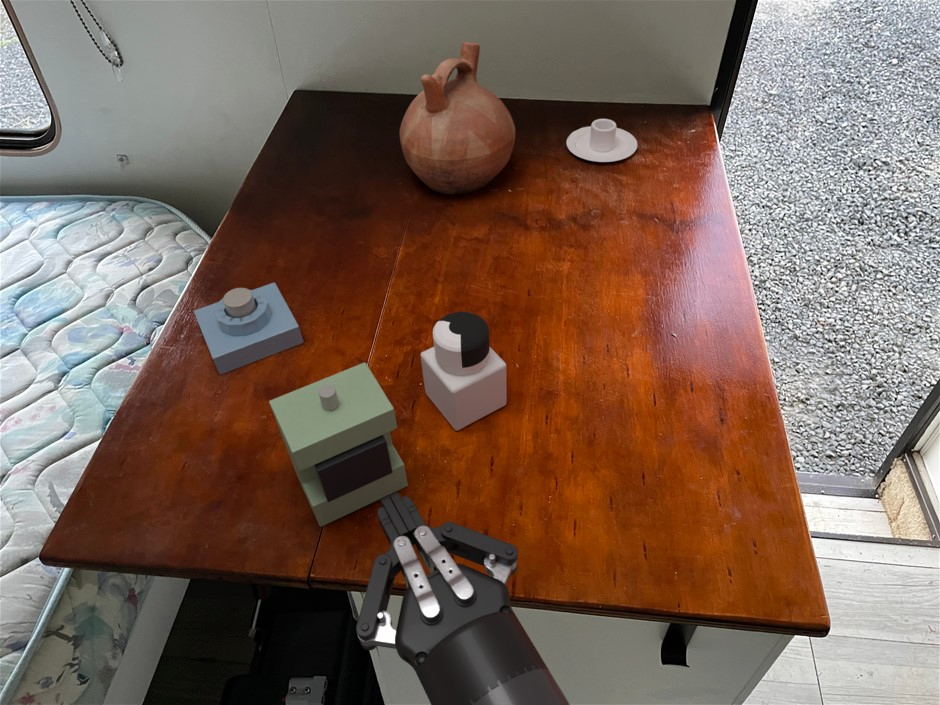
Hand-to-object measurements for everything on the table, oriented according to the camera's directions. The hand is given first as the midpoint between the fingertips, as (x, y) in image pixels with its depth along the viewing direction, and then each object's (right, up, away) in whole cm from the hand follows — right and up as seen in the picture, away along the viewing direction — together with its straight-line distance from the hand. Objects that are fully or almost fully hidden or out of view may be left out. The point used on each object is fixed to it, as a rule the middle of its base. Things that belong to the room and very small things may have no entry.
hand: (389, 501), depth 55 cm
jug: (+5, +41, +62) cm, 75 cm away
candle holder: (+29, +47, +67) cm, 87 cm away
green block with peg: (-6, -3, +21) cm, 22 cm away
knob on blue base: (-22, +14, +38) cm, 46 cm away
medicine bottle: (+6, +6, +29) cm, 30 cm away
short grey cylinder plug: (-23, +17, +35) cm, 45 cm away
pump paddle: (-5, -2, +16) cm, 17 cm away
